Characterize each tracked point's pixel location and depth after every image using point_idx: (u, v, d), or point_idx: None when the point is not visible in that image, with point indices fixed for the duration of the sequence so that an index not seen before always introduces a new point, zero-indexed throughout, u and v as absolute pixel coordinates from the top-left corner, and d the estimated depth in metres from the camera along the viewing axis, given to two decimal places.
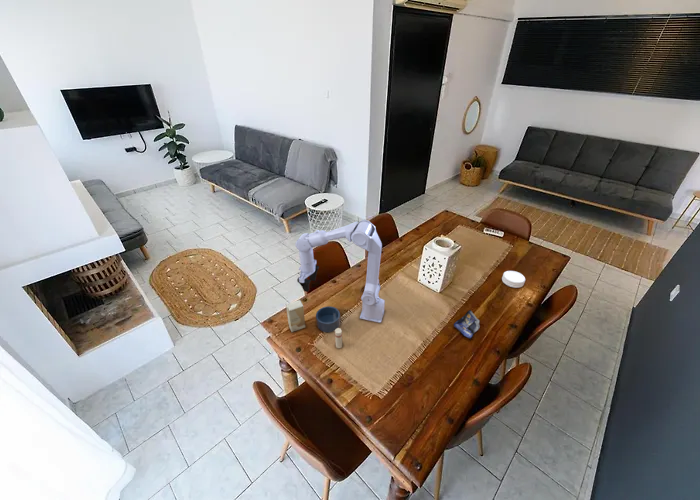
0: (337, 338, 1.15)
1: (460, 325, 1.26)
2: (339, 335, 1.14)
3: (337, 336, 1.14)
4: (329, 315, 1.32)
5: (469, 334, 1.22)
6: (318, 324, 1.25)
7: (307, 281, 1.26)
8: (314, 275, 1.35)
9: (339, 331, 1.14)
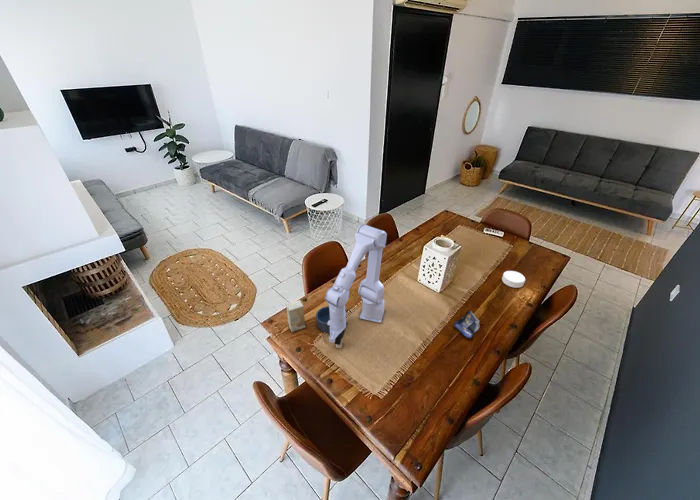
0: None
1: (460, 325, 1.26)
2: None
3: None
4: (329, 315, 1.32)
5: (469, 334, 1.22)
6: (318, 324, 1.25)
7: (340, 335, 1.11)
8: (342, 332, 1.17)
9: None
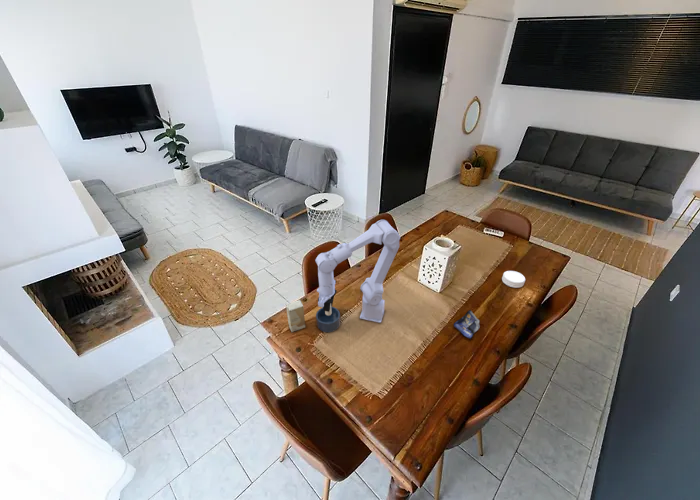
0: None
1: (460, 325, 1.26)
2: None
3: None
4: (329, 315, 1.32)
5: (469, 334, 1.22)
6: (318, 324, 1.25)
7: (329, 301, 1.16)
8: None
9: None
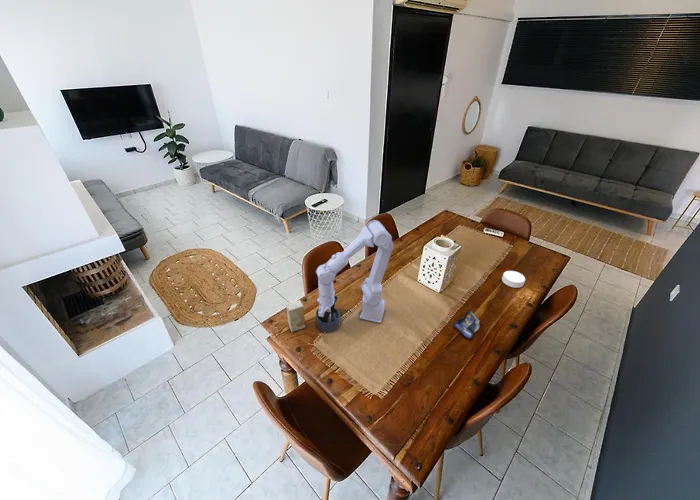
0: None
1: (460, 325, 1.26)
2: (328, 311, 1.24)
3: None
4: None
5: (469, 334, 1.22)
6: (318, 324, 1.25)
7: (327, 314, 1.19)
8: (332, 306, 1.28)
9: None
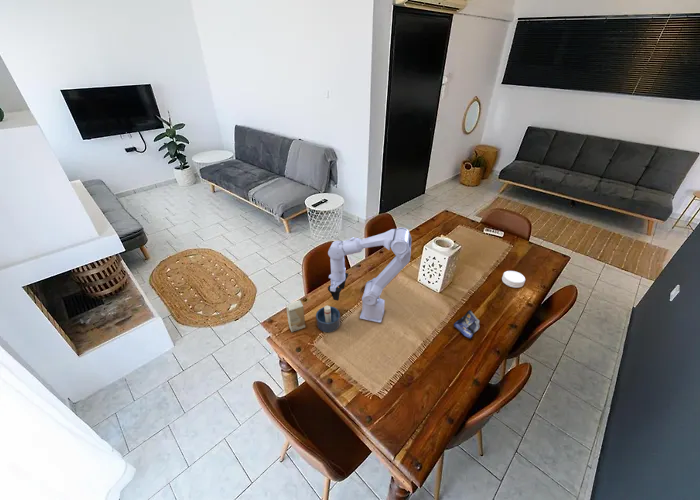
0: (326, 315, 1.25)
1: (460, 325, 1.26)
2: (328, 311, 1.24)
3: (326, 312, 1.24)
4: None
5: (469, 334, 1.22)
6: (318, 324, 1.25)
7: (338, 290, 1.22)
8: (343, 283, 1.32)
9: (328, 308, 1.24)
